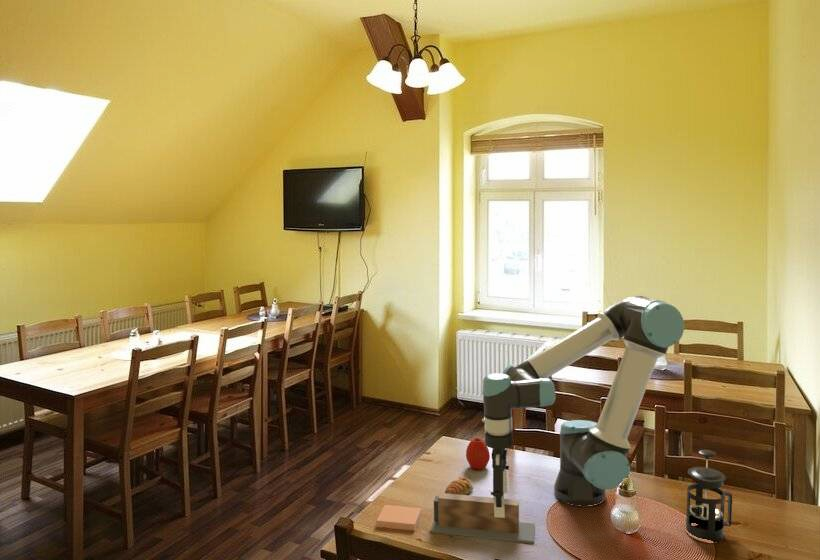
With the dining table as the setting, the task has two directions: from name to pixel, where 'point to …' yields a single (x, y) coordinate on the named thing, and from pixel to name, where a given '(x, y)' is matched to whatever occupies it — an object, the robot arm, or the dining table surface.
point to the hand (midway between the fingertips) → (501, 504)
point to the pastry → (459, 487)
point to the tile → (399, 517)
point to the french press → (707, 502)
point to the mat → (489, 532)
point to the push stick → (475, 513)
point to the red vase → (477, 454)
